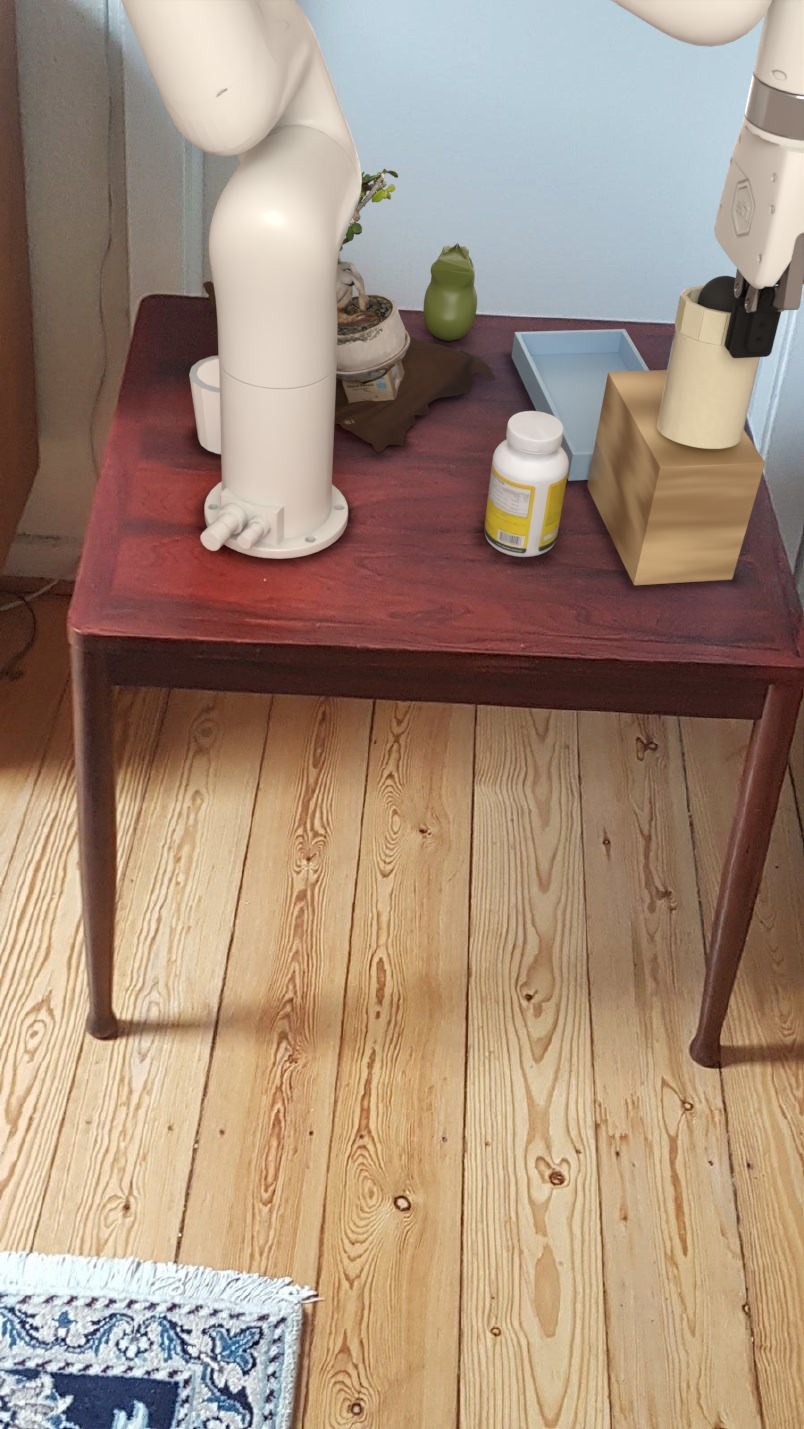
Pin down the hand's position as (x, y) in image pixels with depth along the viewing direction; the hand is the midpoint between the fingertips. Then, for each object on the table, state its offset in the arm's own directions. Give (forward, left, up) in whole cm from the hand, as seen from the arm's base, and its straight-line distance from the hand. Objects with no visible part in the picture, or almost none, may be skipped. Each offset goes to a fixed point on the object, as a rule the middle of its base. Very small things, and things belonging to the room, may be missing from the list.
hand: (746, 351), depth 109 cm
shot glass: (-1, +45, -22) cm, 50 cm away
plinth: (+6, +5, -22) cm, 23 cm away
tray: (+22, +16, -22) cm, 35 cm away
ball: (+5, +3, +1) cm, 6 cm away
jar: (+3, +3, -9) cm, 10 cm away
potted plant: (+14, +39, -22) cm, 47 cm away
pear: (+28, +35, -22) cm, 50 cm away
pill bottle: (-2, +15, -22) cm, 27 cm away
